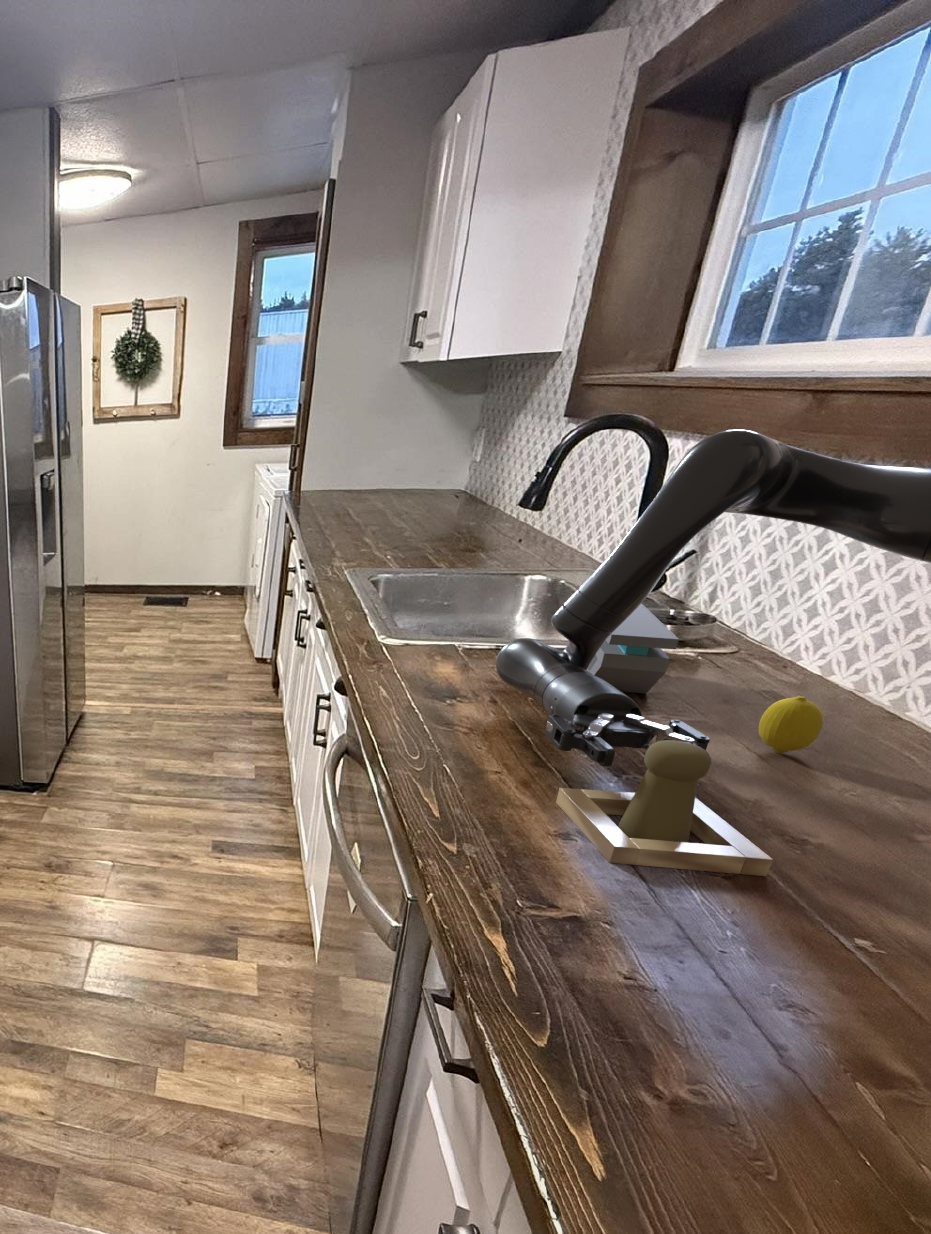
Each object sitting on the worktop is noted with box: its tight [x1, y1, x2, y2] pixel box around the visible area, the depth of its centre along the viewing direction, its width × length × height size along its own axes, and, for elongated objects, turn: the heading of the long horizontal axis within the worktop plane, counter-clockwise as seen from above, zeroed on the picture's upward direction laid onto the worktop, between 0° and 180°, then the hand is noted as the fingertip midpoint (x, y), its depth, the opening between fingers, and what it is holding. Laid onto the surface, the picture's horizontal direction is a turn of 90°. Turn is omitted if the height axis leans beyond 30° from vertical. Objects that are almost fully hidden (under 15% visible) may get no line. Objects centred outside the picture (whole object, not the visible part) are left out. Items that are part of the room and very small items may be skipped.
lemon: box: [758, 695, 824, 754], centre depth 100 cm, size 6×6×8 cm
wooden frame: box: [555, 787, 774, 877], centre depth 84 cm, size 13×13×2 cm
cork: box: [617, 740, 712, 843], centre depth 83 cm, size 6×6×11 cm
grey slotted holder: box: [587, 602, 680, 695], centre depth 126 cm, size 25×8×11 cm, turn 152°
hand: (655, 761), depth 85 cm, fingers open, 8 cm apart
